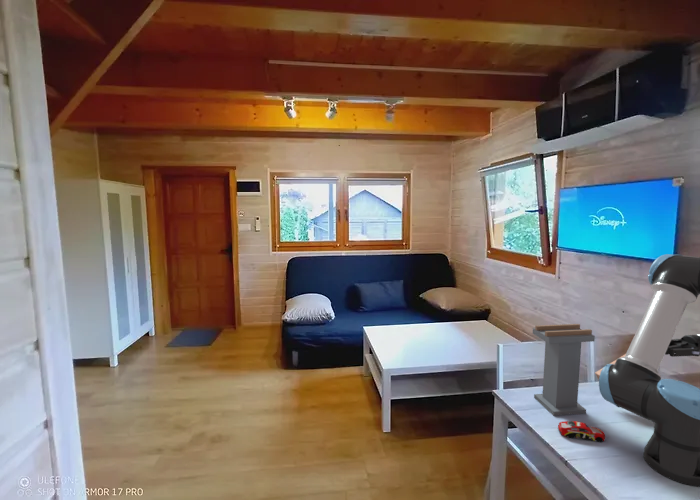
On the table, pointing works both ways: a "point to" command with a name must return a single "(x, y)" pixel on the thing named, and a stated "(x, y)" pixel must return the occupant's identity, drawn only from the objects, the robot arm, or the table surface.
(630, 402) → the robot arm
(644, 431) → the table surface
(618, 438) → the table surface
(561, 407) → the stand
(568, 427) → the race car
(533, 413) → the table surface
